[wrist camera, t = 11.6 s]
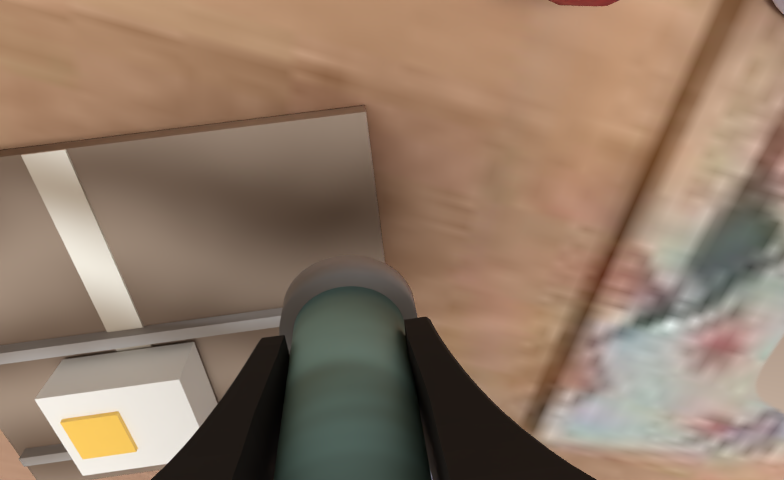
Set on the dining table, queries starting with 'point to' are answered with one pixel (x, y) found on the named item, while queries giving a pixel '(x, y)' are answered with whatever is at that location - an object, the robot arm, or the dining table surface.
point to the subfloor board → (167, 248)
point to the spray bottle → (779, 5)
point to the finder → (127, 406)
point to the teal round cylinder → (349, 376)
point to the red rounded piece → (584, 2)
